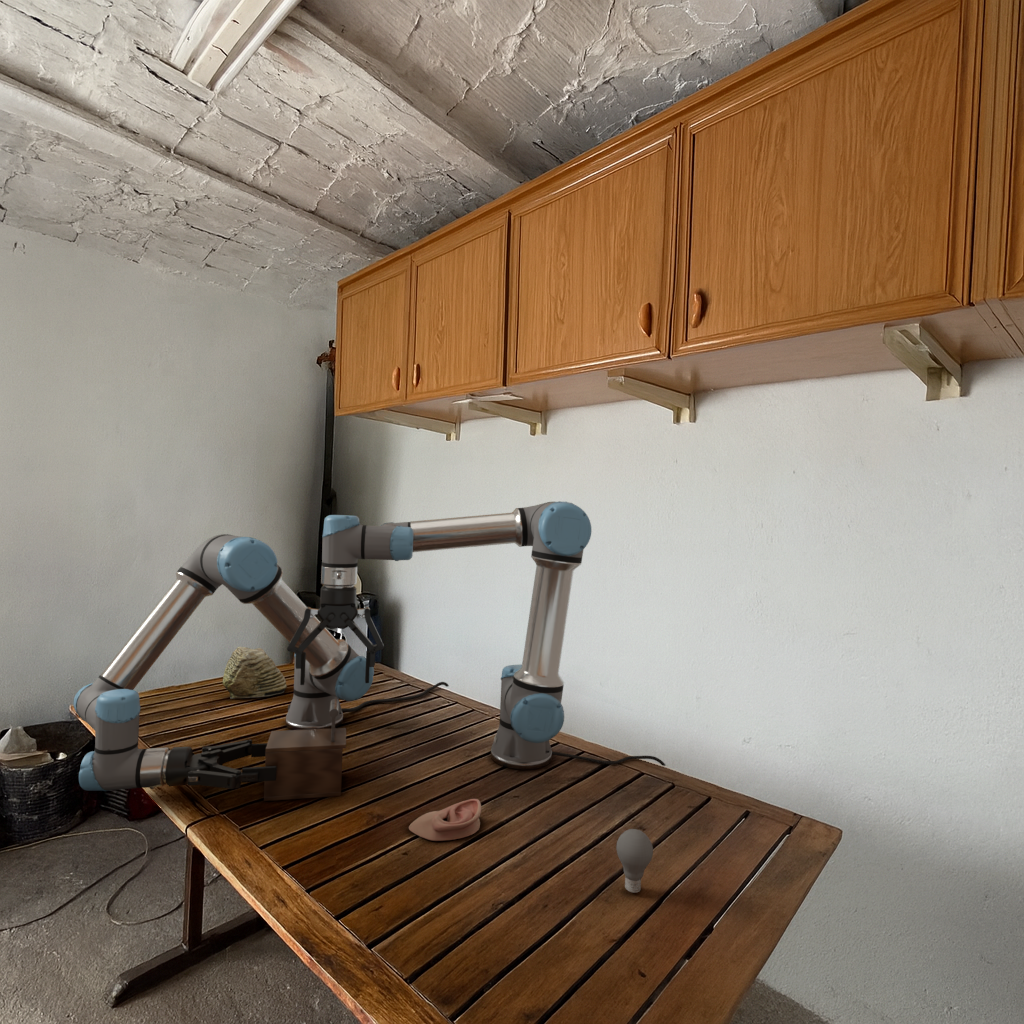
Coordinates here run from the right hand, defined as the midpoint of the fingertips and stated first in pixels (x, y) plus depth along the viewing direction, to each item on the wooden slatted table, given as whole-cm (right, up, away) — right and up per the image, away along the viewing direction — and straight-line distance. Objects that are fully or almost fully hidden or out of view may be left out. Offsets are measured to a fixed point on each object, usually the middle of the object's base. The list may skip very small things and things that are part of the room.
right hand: (335, 682), depth 139 cm
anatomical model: (+26, -24, -15) cm, 38 cm away
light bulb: (+59, -26, -33) cm, 72 cm away
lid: (-6, -12, -1) cm, 14 cm away
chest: (-6, -23, -1) cm, 23 cm away
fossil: (-42, -20, +60) cm, 75 cm away
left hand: (-11, -16, -2) cm, 20 cm away
